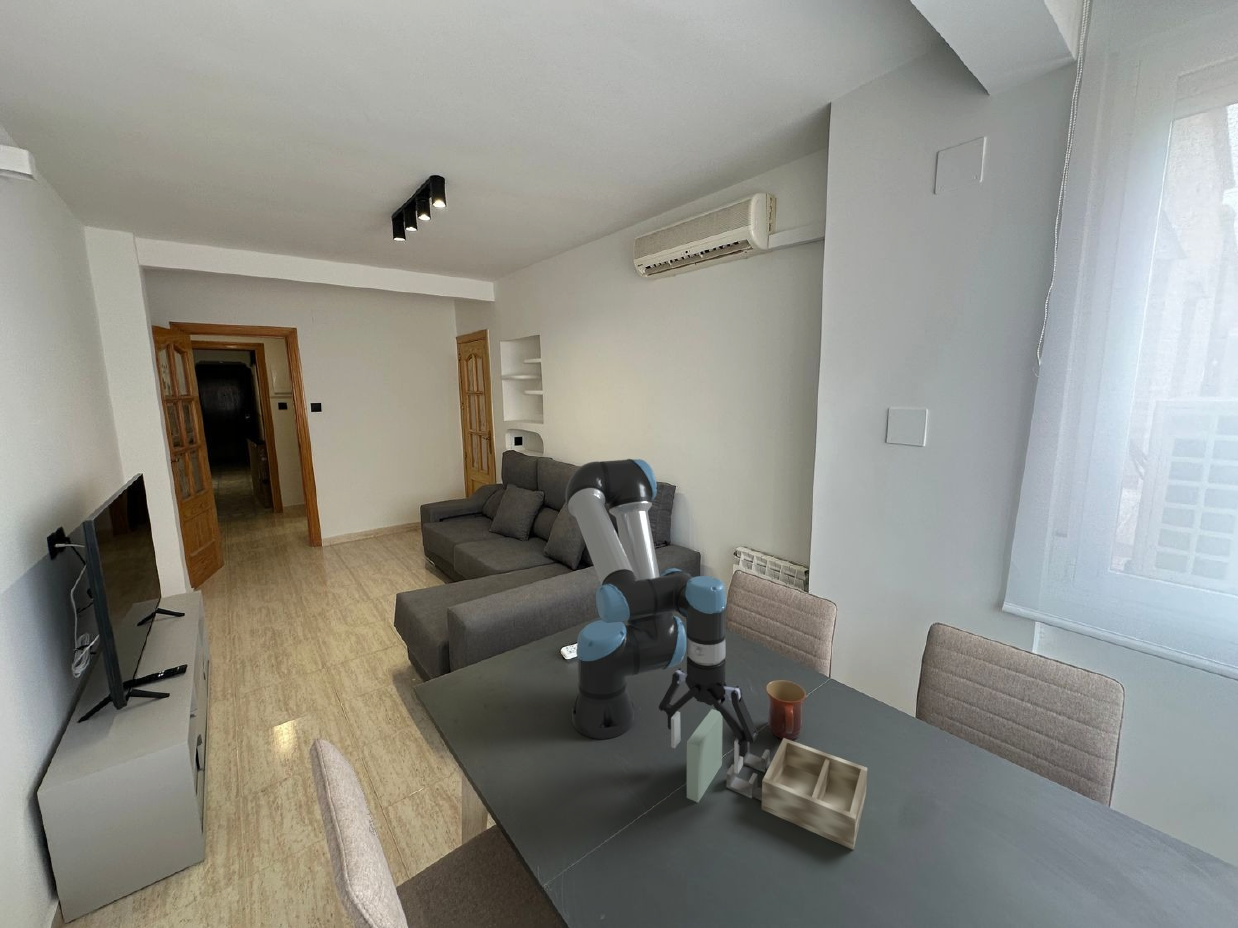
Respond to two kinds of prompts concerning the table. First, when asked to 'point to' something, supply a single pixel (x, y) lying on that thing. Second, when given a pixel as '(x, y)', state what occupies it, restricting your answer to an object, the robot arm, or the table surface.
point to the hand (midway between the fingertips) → (706, 756)
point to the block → (704, 755)
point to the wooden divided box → (808, 790)
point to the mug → (785, 708)
